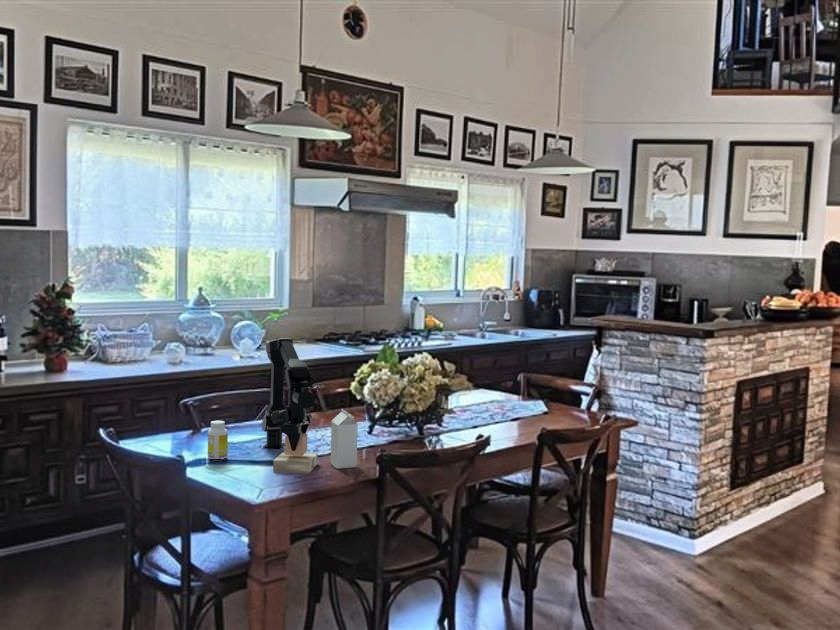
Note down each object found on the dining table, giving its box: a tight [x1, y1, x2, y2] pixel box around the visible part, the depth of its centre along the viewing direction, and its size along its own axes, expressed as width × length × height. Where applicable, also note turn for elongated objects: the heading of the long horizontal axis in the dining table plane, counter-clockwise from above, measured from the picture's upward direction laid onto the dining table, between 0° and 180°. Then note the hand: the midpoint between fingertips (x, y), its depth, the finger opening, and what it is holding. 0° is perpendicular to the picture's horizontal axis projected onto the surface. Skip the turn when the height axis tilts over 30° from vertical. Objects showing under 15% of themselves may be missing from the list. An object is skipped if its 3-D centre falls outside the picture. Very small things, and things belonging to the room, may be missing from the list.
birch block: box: [272, 450, 319, 475], centre depth 274 cm, size 12×12×4 cm
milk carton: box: [330, 408, 359, 469], centre depth 277 cm, size 7×7×19 cm
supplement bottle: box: [207, 420, 229, 460], centre depth 281 cm, size 7×7×13 cm
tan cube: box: [284, 433, 308, 456], centre depth 273 cm, size 6×6×6 cm
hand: (296, 448), depth 273 cm, fingers closed on tan cube, 6 cm apart
